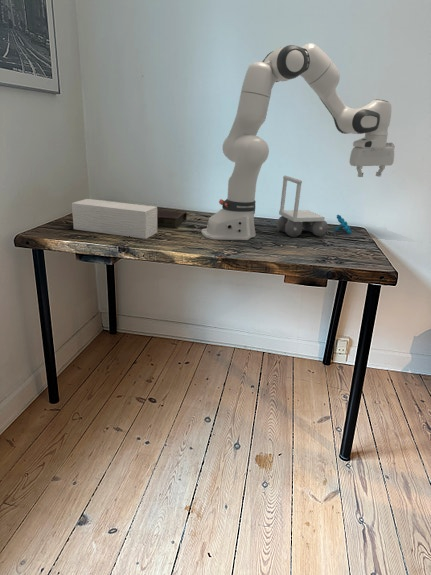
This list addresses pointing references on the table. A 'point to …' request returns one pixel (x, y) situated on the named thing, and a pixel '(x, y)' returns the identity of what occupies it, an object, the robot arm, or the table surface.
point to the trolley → (299, 215)
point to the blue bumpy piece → (343, 225)
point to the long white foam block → (115, 218)
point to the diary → (170, 218)
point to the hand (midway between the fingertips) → (369, 176)
